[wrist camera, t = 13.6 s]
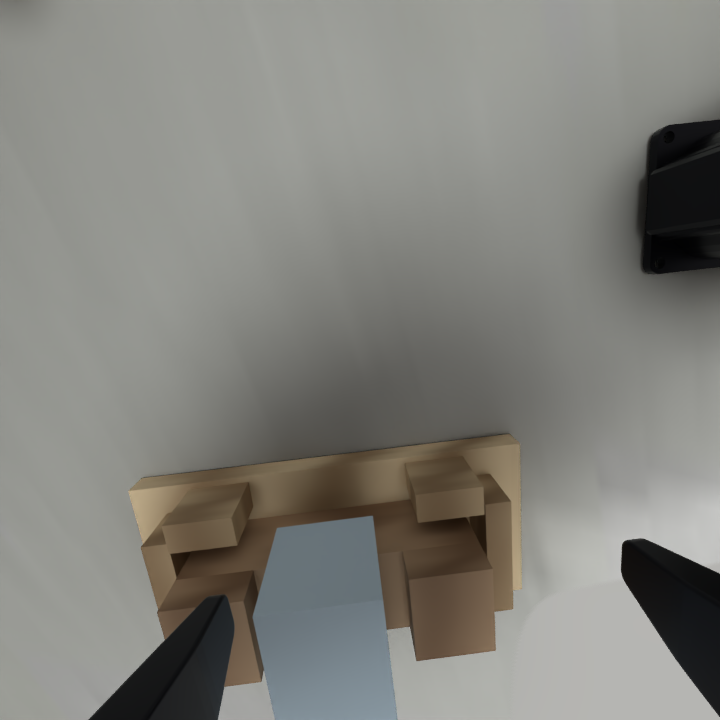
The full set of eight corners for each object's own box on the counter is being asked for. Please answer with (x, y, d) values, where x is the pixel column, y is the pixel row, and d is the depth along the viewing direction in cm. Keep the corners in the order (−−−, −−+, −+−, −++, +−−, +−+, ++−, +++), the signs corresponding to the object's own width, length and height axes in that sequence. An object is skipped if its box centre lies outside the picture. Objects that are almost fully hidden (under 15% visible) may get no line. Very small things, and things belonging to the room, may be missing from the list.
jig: (509, 433, 19) (550, 472, 15) (512, 572, 21) (549, 637, 17) (141, 478, 19) (89, 528, 15) (178, 615, 21) (140, 691, 17)
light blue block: (372, 515, 15) (382, 599, 11) (390, 657, 16) (404, 775, 12) (276, 527, 15) (252, 617, 11) (303, 669, 16) (291, 791, 12)
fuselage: (454, 493, 19) (492, 569, 14) (457, 558, 20) (495, 650, 15) (206, 524, 18) (157, 612, 14) (221, 588, 19) (180, 692, 14)
